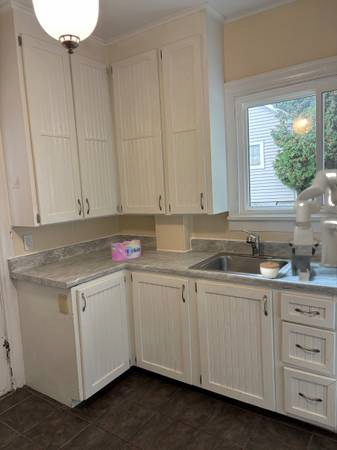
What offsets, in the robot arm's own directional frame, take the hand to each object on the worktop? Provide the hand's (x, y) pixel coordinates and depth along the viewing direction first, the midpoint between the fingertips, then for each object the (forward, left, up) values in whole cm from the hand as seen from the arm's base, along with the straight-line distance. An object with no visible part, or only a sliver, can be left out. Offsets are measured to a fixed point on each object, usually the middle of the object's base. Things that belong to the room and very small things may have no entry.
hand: (303, 255), depth 184 cm
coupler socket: (-14, 0, -14) cm, 20 cm away
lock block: (0, 0, -14) cm, 14 cm away
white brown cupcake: (-1, -18, -14) cm, 23 cm away
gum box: (-37, -126, -14) cm, 132 cm away
